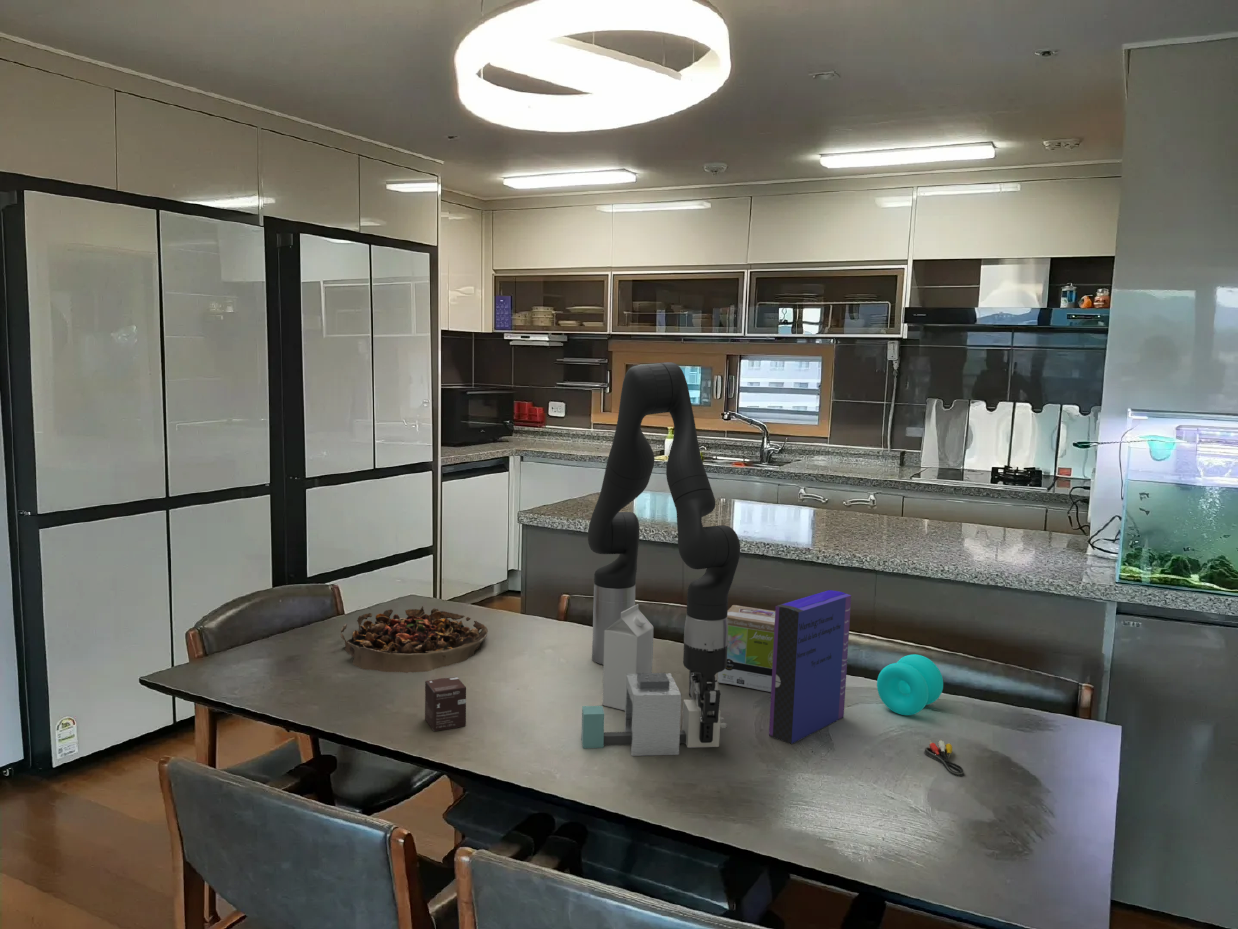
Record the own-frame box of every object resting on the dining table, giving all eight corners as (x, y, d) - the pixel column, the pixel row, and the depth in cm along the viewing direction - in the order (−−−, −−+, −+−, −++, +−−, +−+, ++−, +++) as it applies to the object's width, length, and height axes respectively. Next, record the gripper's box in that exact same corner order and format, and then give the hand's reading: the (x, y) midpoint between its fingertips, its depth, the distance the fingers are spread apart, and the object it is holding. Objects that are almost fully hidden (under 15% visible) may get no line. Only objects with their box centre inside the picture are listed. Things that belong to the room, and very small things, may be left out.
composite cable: (966, 779, 135) (968, 764, 135) (936, 776, 135) (937, 762, 135) (948, 751, 145) (949, 738, 144) (920, 749, 145) (921, 736, 145)
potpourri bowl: (377, 623, 210) (378, 593, 210) (503, 635, 206) (505, 604, 205) (306, 666, 176) (307, 630, 175) (457, 681, 171) (458, 645, 171)
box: (432, 732, 146) (433, 692, 145) (424, 719, 151) (424, 680, 150) (466, 726, 148) (466, 687, 148) (456, 714, 154) (457, 675, 153)
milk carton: (601, 706, 159) (604, 609, 157) (619, 694, 165) (622, 601, 163) (635, 714, 156) (638, 615, 154) (651, 701, 162) (654, 606, 160)
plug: (581, 737, 145) (581, 701, 144) (720, 734, 148) (722, 699, 148) (583, 750, 140) (584, 713, 140) (727, 746, 143) (729, 710, 143)
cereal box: (821, 710, 160) (828, 588, 158) (843, 717, 157) (851, 594, 154) (768, 735, 148) (775, 604, 146) (791, 744, 145) (798, 611, 142)
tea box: (716, 684, 172) (719, 615, 171) (728, 669, 181) (731, 603, 180) (788, 697, 167) (792, 625, 165) (797, 680, 176) (801, 612, 174)
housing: (624, 730, 148) (626, 667, 147) (668, 729, 149) (670, 666, 148) (631, 756, 139) (634, 688, 137) (678, 754, 140) (681, 687, 138)
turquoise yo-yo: (943, 709, 163) (947, 660, 162) (922, 724, 155) (926, 672, 154) (895, 694, 169) (898, 647, 168) (872, 708, 162) (875, 658, 161)
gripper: (676, 628, 150) (673, 717, 152) (693, 654, 136) (689, 753, 137) (717, 627, 151) (713, 716, 153) (737, 654, 137) (733, 752, 138)
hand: (701, 733), depth 145 cm, fingers open, 5 cm apart
